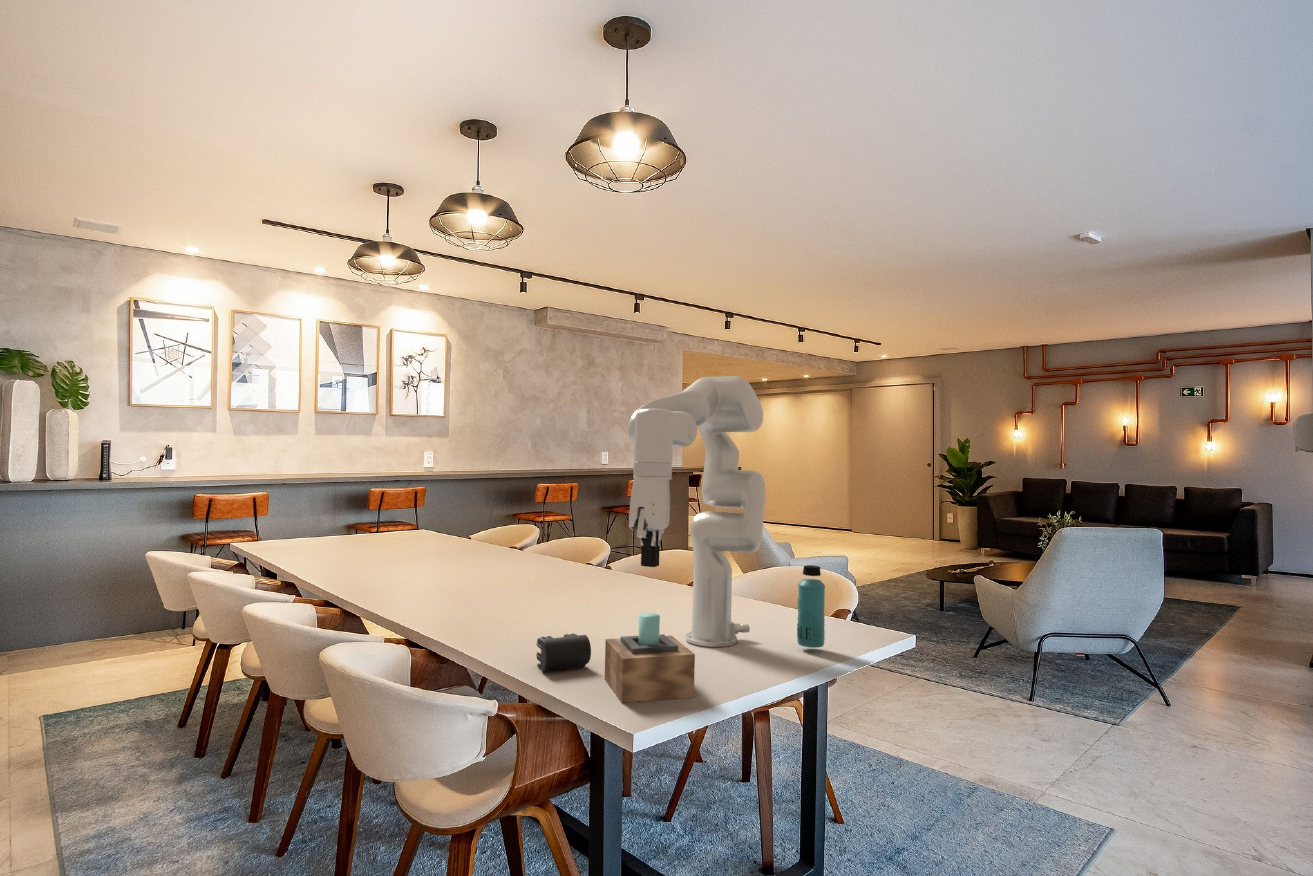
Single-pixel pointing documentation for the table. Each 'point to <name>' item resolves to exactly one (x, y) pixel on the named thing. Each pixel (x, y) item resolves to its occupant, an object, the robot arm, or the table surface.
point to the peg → (649, 629)
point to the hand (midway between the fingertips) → (649, 566)
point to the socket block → (649, 669)
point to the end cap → (563, 652)
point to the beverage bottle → (811, 609)
